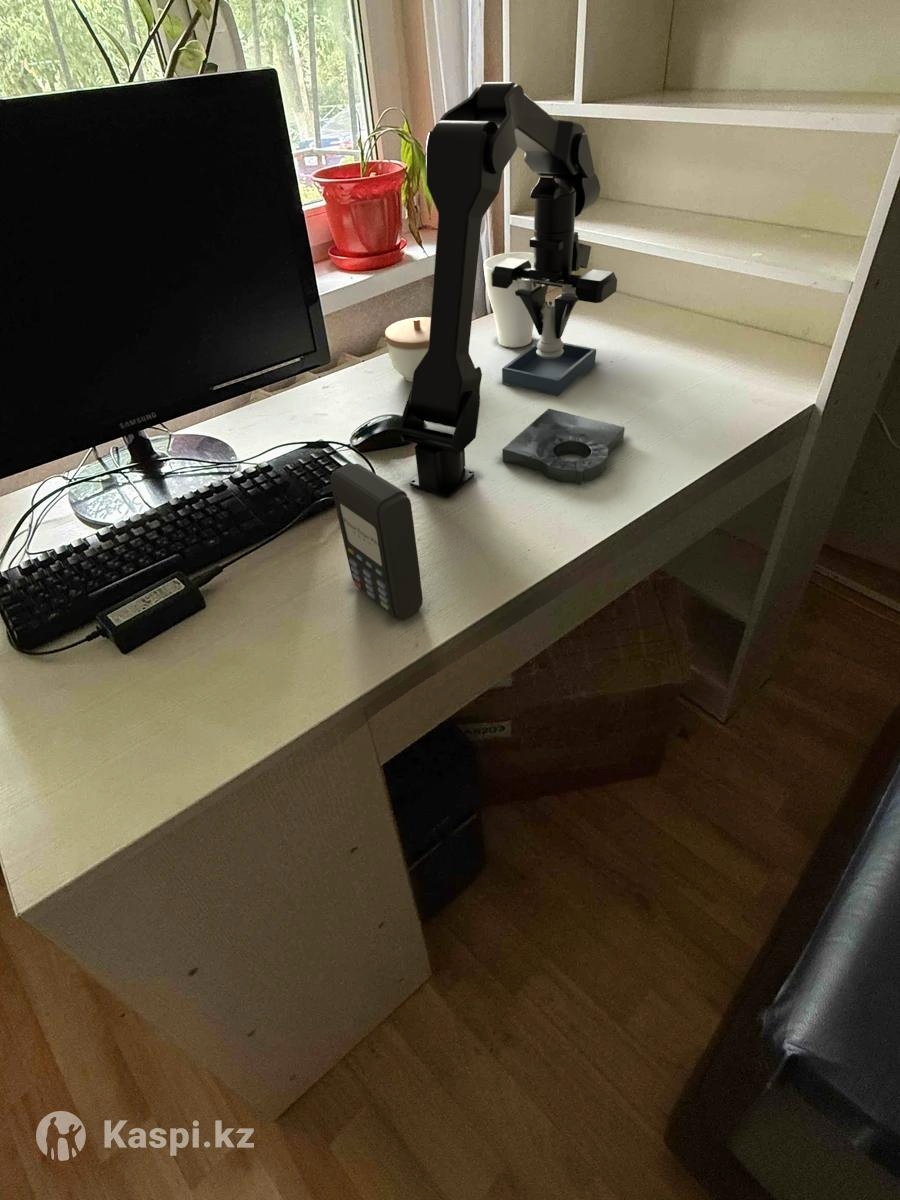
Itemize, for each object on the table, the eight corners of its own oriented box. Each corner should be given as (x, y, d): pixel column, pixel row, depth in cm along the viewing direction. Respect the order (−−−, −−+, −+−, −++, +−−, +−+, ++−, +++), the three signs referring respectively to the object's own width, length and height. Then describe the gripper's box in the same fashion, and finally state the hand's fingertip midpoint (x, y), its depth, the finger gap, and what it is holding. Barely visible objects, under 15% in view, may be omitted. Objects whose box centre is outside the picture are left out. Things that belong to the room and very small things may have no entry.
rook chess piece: (562, 360, 109) (564, 308, 103) (534, 359, 110) (535, 308, 104) (564, 348, 112) (567, 298, 107) (537, 348, 113) (538, 298, 108)
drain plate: (587, 490, 88) (588, 477, 86) (499, 464, 94) (499, 451, 92) (631, 442, 96) (633, 429, 94) (548, 420, 102) (548, 408, 100)
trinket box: (381, 386, 114) (373, 330, 107) (403, 359, 121) (396, 305, 115) (442, 391, 111) (437, 334, 105) (461, 363, 118) (457, 308, 112)
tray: (557, 396, 107) (558, 380, 105) (502, 383, 112) (501, 368, 110) (595, 364, 115) (596, 348, 113) (541, 353, 119) (542, 338, 118)
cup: (474, 342, 124) (470, 264, 115) (514, 325, 129) (513, 248, 120) (515, 358, 118) (515, 276, 109) (556, 339, 123) (559, 259, 114)
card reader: (347, 586, 77) (321, 472, 67) (376, 569, 79) (355, 456, 69) (397, 626, 72) (378, 509, 62) (427, 607, 74) (412, 491, 63)
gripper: (638, 219, 99) (626, 328, 109) (526, 208, 107) (525, 310, 118) (604, 240, 92) (595, 354, 103) (487, 227, 101) (490, 333, 111)
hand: (550, 336), depth 109 cm, fingers closed on rook chess piece, 3 cm apart
